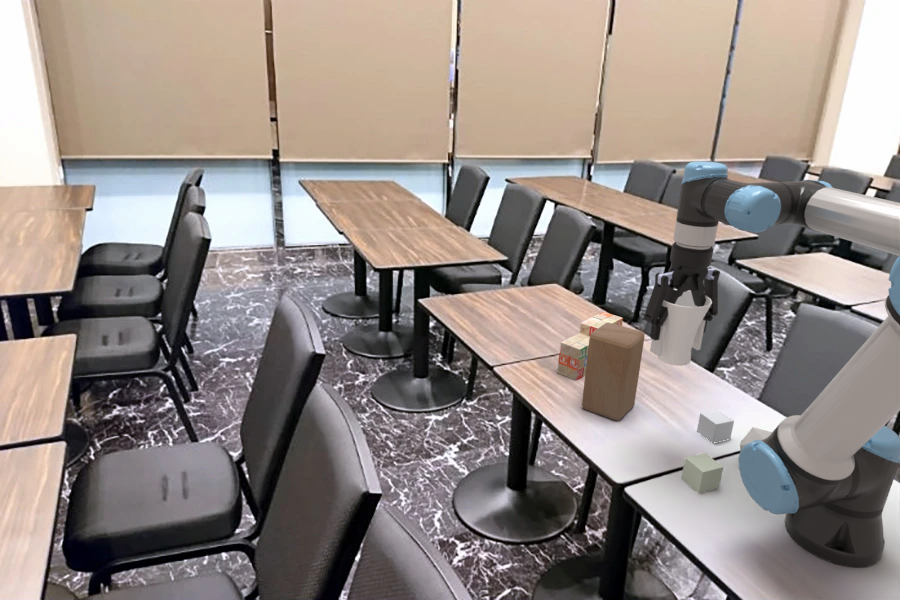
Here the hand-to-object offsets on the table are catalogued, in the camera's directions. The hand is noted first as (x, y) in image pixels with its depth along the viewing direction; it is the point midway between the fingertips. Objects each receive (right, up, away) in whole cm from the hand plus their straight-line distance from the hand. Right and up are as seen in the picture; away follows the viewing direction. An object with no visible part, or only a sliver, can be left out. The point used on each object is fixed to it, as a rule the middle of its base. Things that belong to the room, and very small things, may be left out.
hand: (675, 350), depth 129 cm
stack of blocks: (-8, -8, +45) cm, 47 cm away
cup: (0, -2, +1) cm, 2 cm away
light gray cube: (+13, -20, +13) cm, 28 cm away
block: (-8, -16, +24) cm, 30 cm away
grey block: (+19, -25, +3) cm, 31 cm away
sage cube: (+4, -26, -3) cm, 27 cm away
